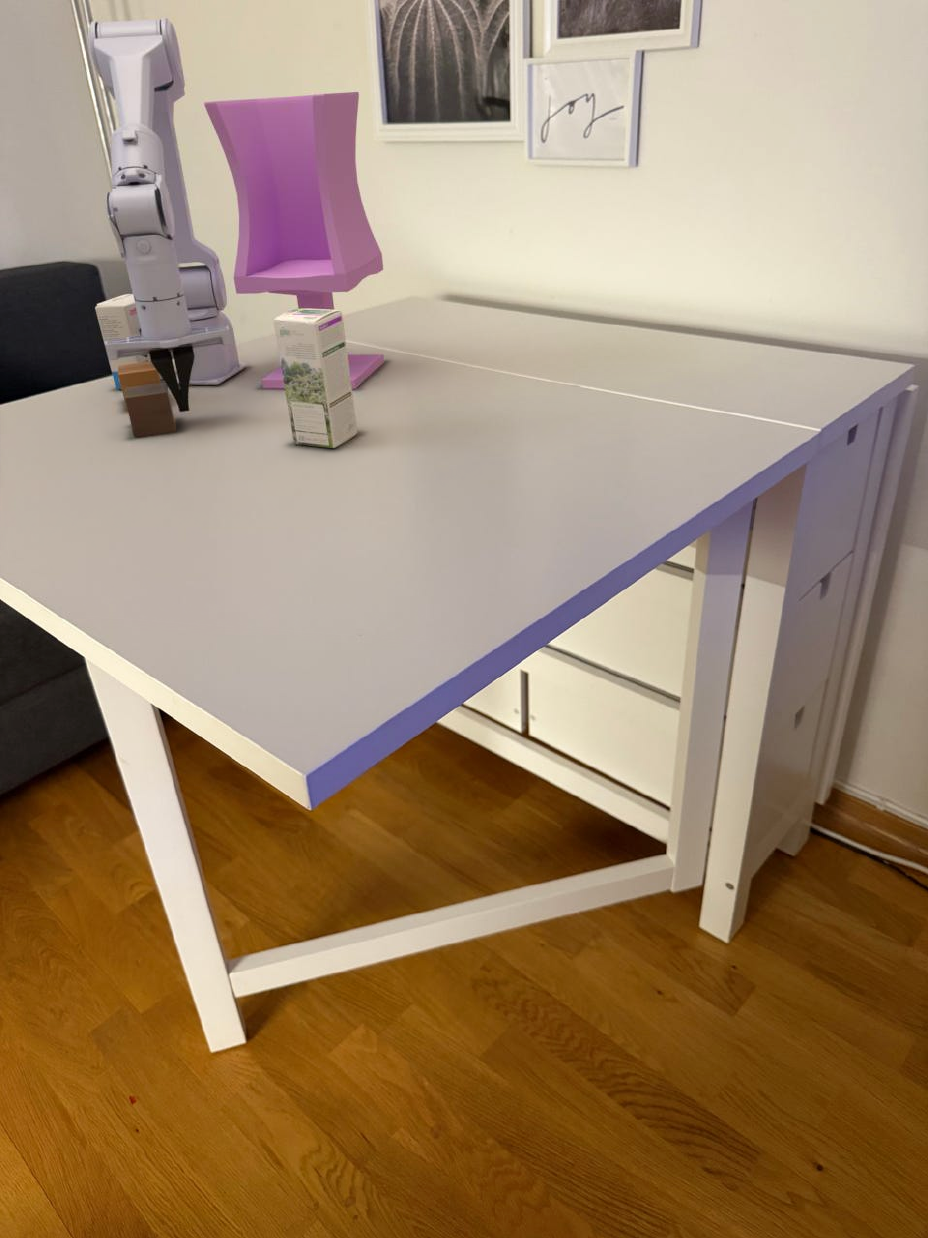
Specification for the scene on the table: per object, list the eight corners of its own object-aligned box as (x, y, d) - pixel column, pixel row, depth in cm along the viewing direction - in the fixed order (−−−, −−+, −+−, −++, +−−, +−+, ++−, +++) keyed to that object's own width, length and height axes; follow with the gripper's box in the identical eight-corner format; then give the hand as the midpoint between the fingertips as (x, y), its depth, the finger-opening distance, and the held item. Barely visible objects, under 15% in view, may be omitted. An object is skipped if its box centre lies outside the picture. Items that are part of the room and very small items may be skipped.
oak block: (127, 401, 124) (117, 365, 122) (164, 396, 125) (156, 360, 123) (127, 411, 120) (117, 374, 118) (165, 406, 121) (157, 369, 119)
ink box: (145, 389, 129) (124, 304, 123) (114, 389, 130) (92, 305, 124) (173, 373, 136) (155, 292, 130) (143, 373, 137) (124, 292, 131)
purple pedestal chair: (253, 390, 126) (201, 101, 108) (295, 360, 139) (255, 98, 121) (359, 390, 122) (324, 93, 104) (392, 360, 135) (365, 91, 117)
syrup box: (359, 433, 107) (344, 307, 99) (333, 450, 102) (315, 319, 95) (319, 429, 109) (301, 305, 102) (291, 445, 105) (270, 317, 97)
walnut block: (135, 426, 114) (125, 387, 112) (175, 420, 116) (166, 381, 113) (134, 438, 110) (124, 397, 108) (176, 431, 111) (167, 392, 109)
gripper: (94, 310, 101) (124, 427, 108) (224, 295, 104) (245, 409, 111) (95, 299, 107) (124, 411, 114) (219, 285, 110) (239, 394, 117)
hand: (184, 409), depth 113 cm, fingers closed
